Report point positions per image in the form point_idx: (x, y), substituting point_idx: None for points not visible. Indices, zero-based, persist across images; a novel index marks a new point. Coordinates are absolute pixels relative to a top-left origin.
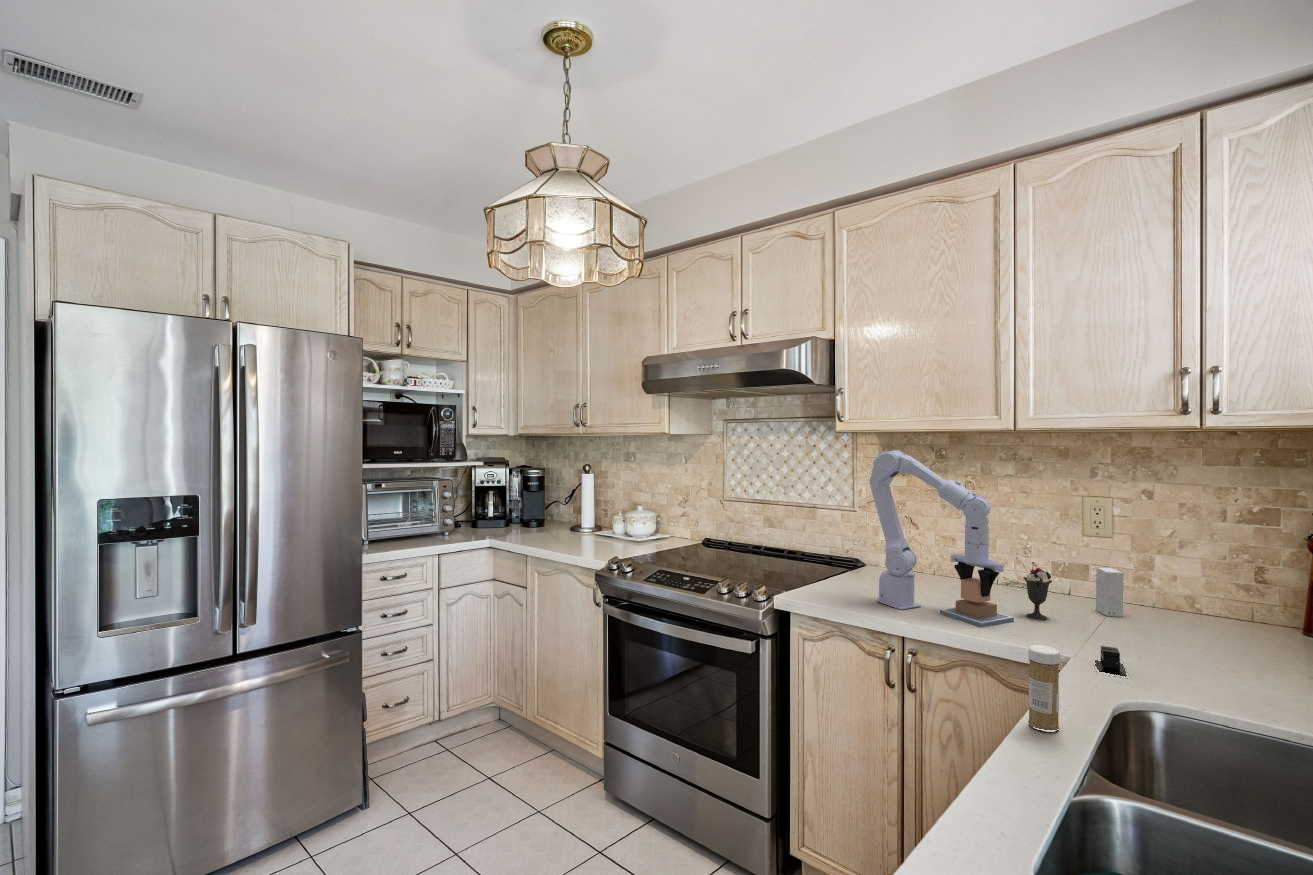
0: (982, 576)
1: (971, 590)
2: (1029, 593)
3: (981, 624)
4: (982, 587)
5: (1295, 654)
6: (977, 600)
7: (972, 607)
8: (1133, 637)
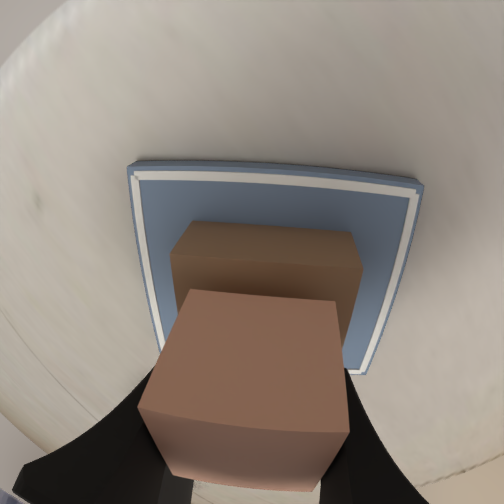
0: (72, 467)
1: (222, 352)
2: (168, 471)
3: (129, 165)
4: (140, 397)
5: (12, 423)
6: (186, 301)
7: (217, 251)
8: (40, 396)
